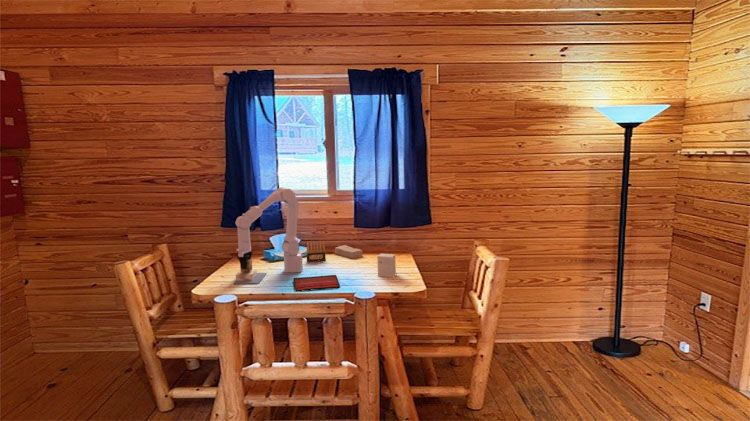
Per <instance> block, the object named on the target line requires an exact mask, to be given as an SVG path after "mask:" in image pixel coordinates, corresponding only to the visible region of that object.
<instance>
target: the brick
mask: <svg viewBox="0 0 750 421" xmlns="http://www.w3.org/2000/svg"><path fill="white" fill-rule="evenodd" d="M334 252H335V254H336V255H338V256H340V255H341V257H344V258H348V259H353V260H354V259H358V258H362V257H363V249H360V248H354V247H351V246H349V245H339V246H337V247H334Z"/></svg>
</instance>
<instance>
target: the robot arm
mask: <svg viewBox="0 0 750 421" xmlns="http://www.w3.org/2000/svg"><path fill="white" fill-rule="evenodd" d="M275 202H283V203H284V204H286V205H287V216H286V218H287V220H286V230H285V236H284V238H283V241H282V244H281V249H282V251H283V264H284V265H283V266H284V267H283V268H284V269H283V270H282V273H287V274H289V273H302V271H303V269H304V266H303V255H302V254H301V253H299V252H300V246H299V240H298V238H297V234H298V233H297V229H298V216H299V204H300V203H299V201H298V198H297V196H296V192H294V191H293V189H291V188H286V187H283V186H282V187H278V188H277V189H276V190H273V191H272V193H271V194H269V196H267V197H266V198H265V199H264V200H263V201H262V202H261V203H259V204H258V205H253V206H250V207H249V209H248V210H247V211H246V212H245V213H244V212H243V213H242V215H241V216H238V217H237V218H236V220H235V225H236V227H237V228H236V229H237V244H238V245H237V246H238V248H237V249H235V250H236V252H238V254H237V255H236V258H237V260H238V261H239V264H241V267H242V269H247V262H248V259H252V256H253V253H254V251H253V250H252V246H251V245H252V244H251V231H250V227H251V226H252V224H253V223H254V222H255V221H256V220H257V219H259V217H261V216H262V215H263V211H265V210H266V209H267V208H269V207H270V206H271V205H273V204H274V203H275Z"/></svg>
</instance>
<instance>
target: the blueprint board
mask: <svg viewBox="0 0 750 421" xmlns="http://www.w3.org/2000/svg"><path fill="white" fill-rule="evenodd" d="M267 273H268V272H257V269H252V270H251V271H250V272H241V269H240V270H239V271H238V272H237V273H236V274H235V281H234V282H233V283H232V284H233V285H260V283H261V281H262V280H264V278H265V276H267Z"/></svg>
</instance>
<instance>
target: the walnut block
mask: <svg viewBox="0 0 750 421" xmlns="http://www.w3.org/2000/svg"><path fill="white" fill-rule="evenodd" d="M239 264H240V263H239ZM239 266H240V270H241V272H250V271H251V270H253V259H252V258H251V259H248V262H247V269H242V267H241V264H240V265H239Z"/></svg>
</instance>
